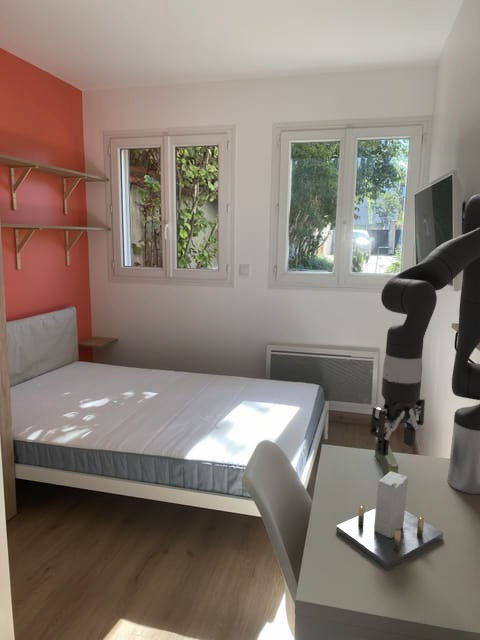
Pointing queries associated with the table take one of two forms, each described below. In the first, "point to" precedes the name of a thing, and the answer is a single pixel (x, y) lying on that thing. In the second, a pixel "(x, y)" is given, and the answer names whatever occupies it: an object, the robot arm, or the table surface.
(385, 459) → the handheld radio
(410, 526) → the standoff plate
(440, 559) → the table surface
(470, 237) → the robot arm
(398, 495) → the skincare box
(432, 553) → the table surface
